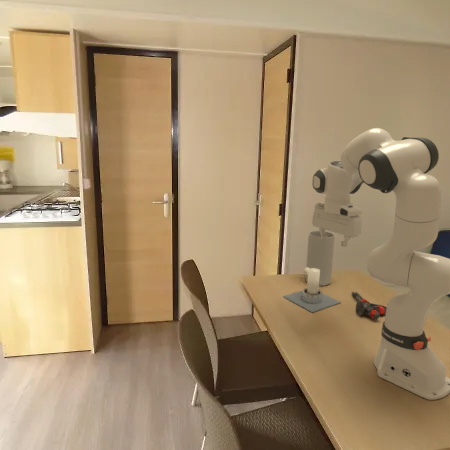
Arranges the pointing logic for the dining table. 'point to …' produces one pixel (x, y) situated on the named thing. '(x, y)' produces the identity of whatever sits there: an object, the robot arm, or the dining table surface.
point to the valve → (368, 307)
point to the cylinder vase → (321, 255)
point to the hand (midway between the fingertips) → (333, 242)
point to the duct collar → (312, 297)
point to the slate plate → (310, 307)
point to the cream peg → (312, 280)
